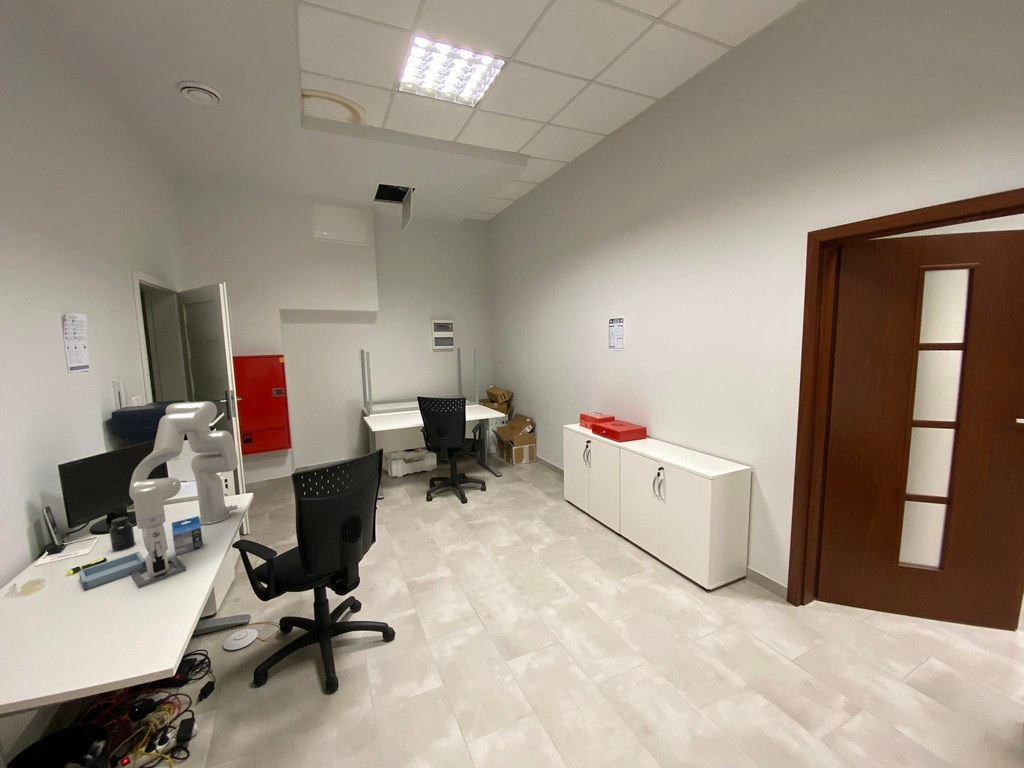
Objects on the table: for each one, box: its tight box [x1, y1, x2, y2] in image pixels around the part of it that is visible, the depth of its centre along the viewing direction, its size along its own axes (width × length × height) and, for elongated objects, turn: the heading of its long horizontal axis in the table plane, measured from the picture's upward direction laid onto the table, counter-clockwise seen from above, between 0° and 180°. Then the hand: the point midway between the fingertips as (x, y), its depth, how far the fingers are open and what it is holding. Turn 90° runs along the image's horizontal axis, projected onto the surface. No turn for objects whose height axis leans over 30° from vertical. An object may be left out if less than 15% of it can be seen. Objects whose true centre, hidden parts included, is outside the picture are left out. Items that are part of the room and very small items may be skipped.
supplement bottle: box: [109, 516, 136, 552], centre depth 166 cm, size 7×7×12 cm
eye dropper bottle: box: [145, 548, 169, 578], centre depth 146 cm, size 4×6×12 cm
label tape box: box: [171, 516, 204, 556], centre depth 162 cm, size 9×4×12 cm, turn 130°
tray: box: [78, 551, 147, 592], centre depth 147 cm, size 16×12×3 cm
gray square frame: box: [130, 555, 187, 589], centre depth 147 cm, size 13×13×1 cm
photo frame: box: [33, 535, 101, 568], centre depth 165 cm, size 15×1×18 cm
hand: (158, 568), depth 147 cm, fingers open, 4 cm apart
